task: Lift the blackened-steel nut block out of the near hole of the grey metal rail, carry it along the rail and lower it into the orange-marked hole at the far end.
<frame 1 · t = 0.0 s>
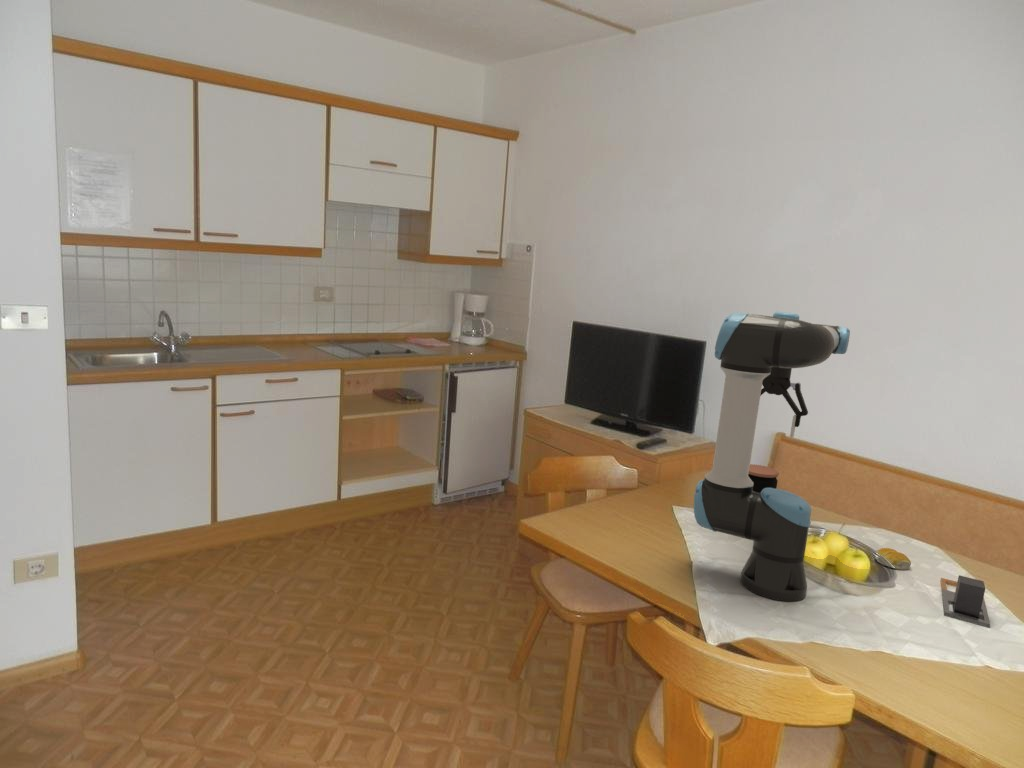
hand: (768, 432, 217), 28 cm above the table, tool pointing down, fingers open, 13 cm apart
bread roll: (891, 565, 195), on the table
coffee jar: (751, 527, 215), on the table
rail: (963, 602, 174), on the table
nut block: (965, 613, 168), resting in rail
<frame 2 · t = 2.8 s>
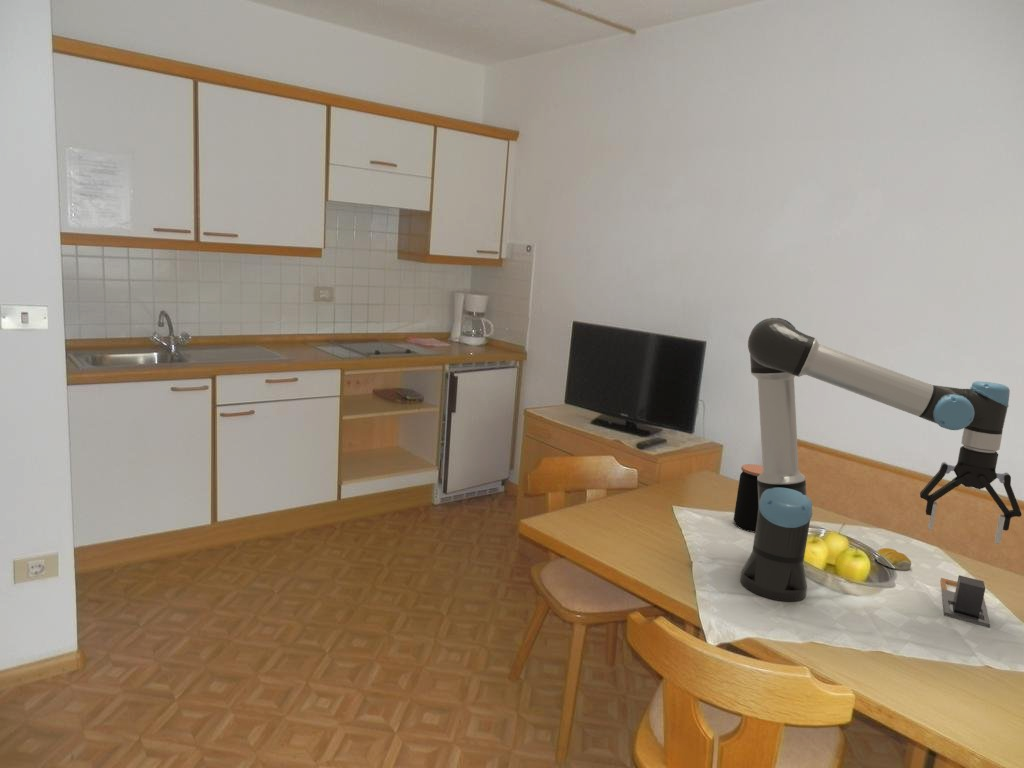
hand: (963, 535, 169), 18 cm above the table, tool pointing down, fingers open, 13 cm apart
nothing on the table moved.
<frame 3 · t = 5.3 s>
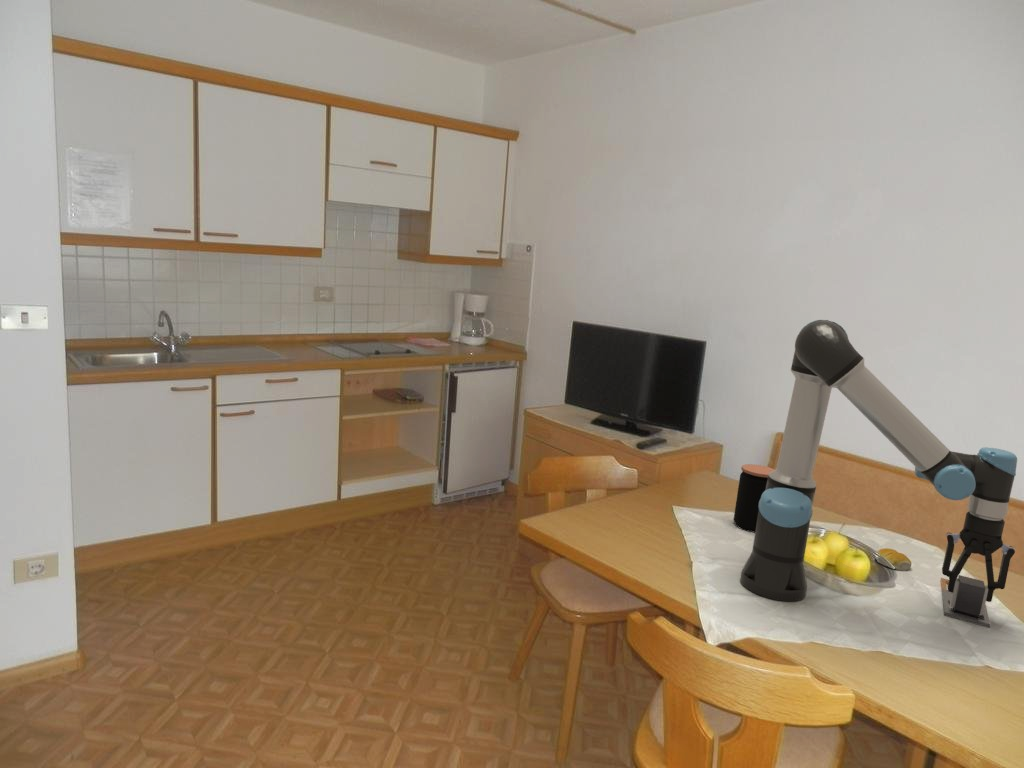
hand: (966, 608, 168), 1 cm above the table, tool pointing down, fingers closed on nut block, 5 cm apart
nut block: (965, 613, 168), resting in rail, touching gripper
everything else where it was.
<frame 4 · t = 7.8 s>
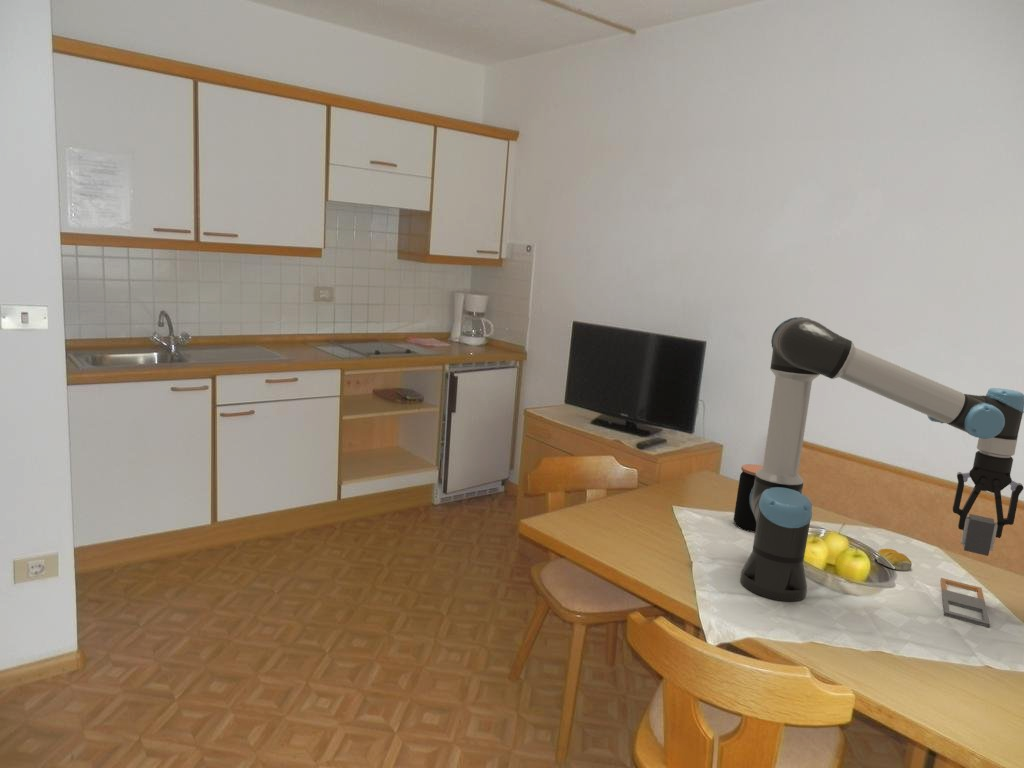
hand: (976, 545, 173), 14 cm above the table, tool pointing down, fingers closed on nut block, 5 cm apart
nut block: (975, 550, 173), point 13 cm above the table, touching gripper
everything else where it was.
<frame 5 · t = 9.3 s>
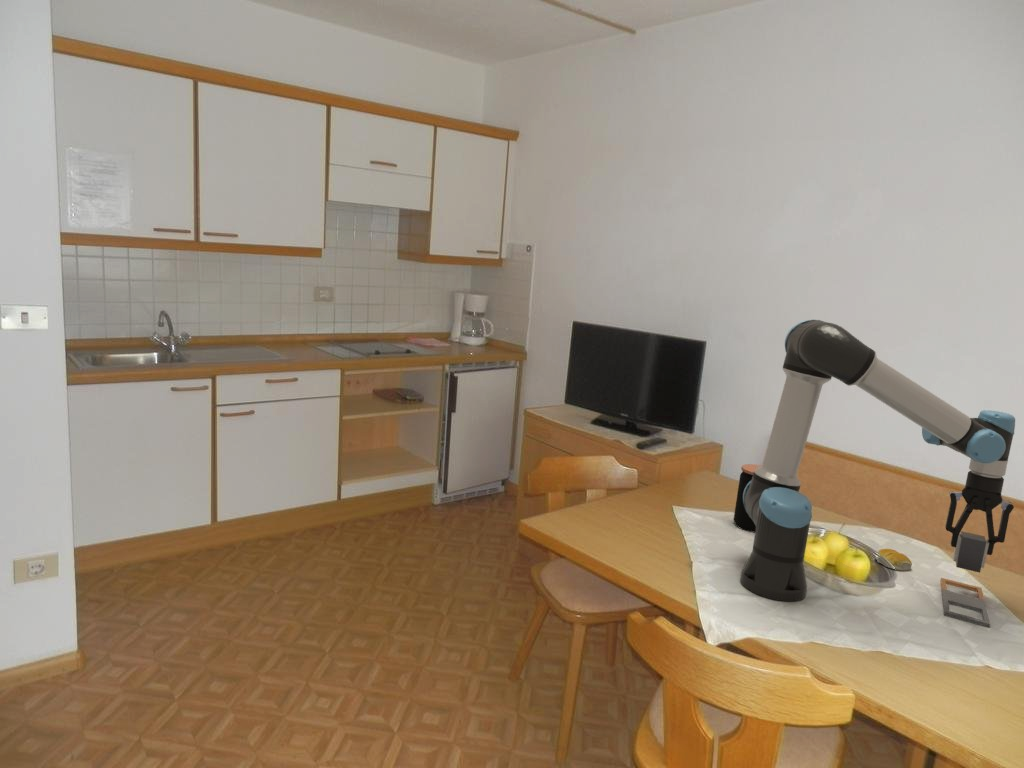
hand: (968, 562, 179), 8 cm above the table, tool pointing down, fingers closed on nut block, 5 cm apart
nut block: (967, 566, 179), point 7 cm above the table, touching gripper
everything else where it was.
when the fingers open (3 cm above the table, at t = 10.5 s): nut block drops 1 cm, resting in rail.
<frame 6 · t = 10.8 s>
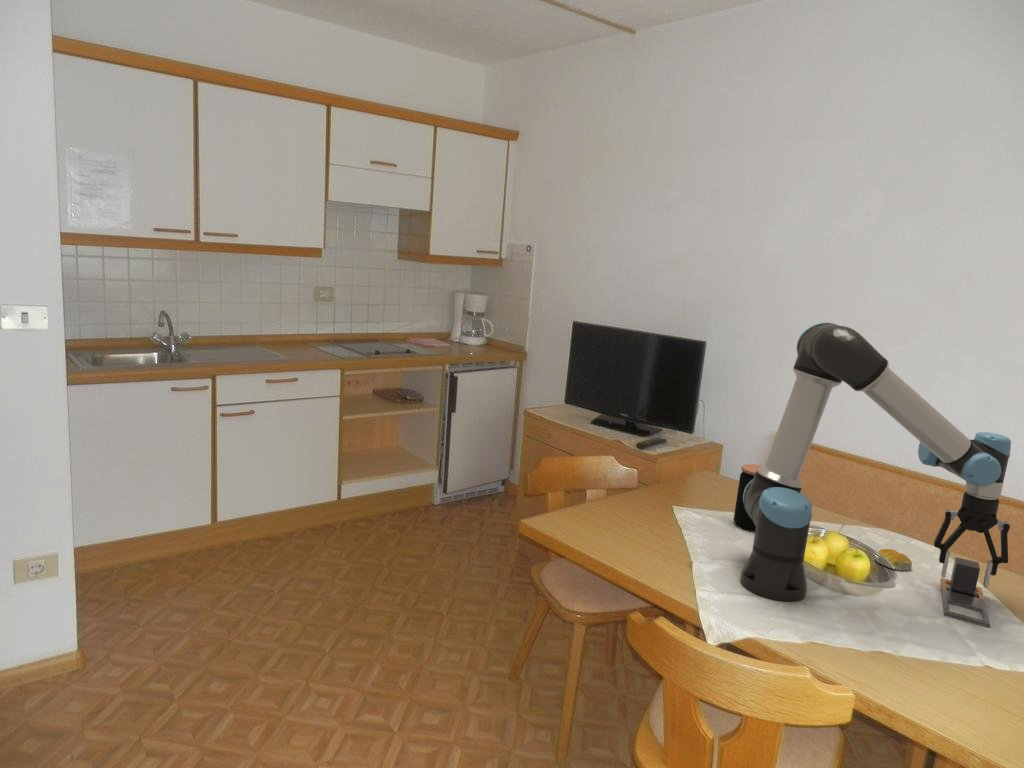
hand: (963, 580, 180), 3 cm above the table, tool pointing down, fingers open, 8 cm apart
nut block: (961, 592, 180), resting in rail
everything else where it was.
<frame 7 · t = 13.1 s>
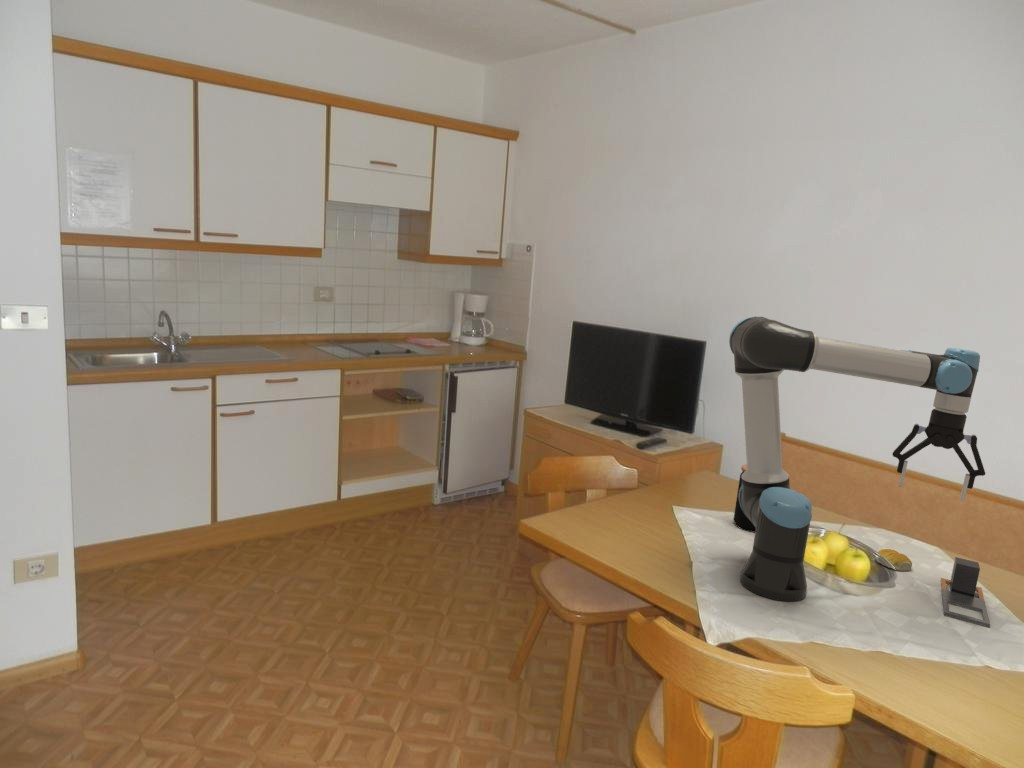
hand: (930, 492, 180), 24 cm above the table, tool pointing down, fingers open, 13 cm apart
nothing on the table moved.
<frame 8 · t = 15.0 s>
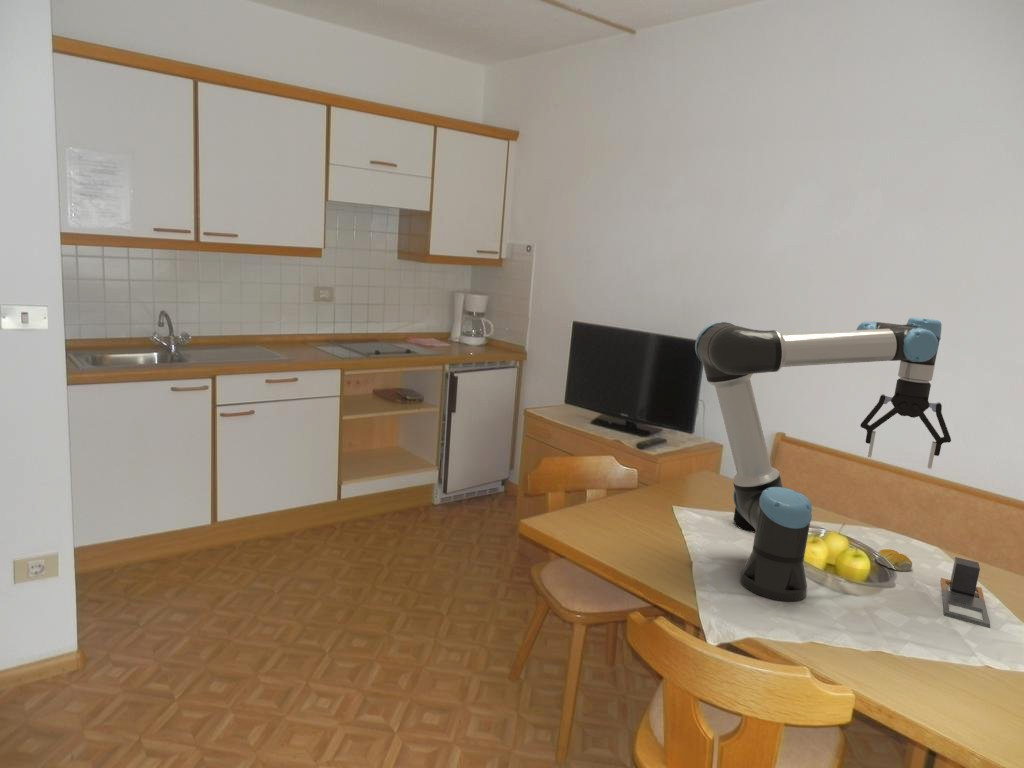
hand: (898, 461, 181), 31 cm above the table, tool pointing down, fingers open, 13 cm apart
nothing on the table moved.
at the end: nut block 0.0 cm from the target spot on the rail, point 0.0 cm above the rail's base; nut block tilted 0°; the gripper is holding nothing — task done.
